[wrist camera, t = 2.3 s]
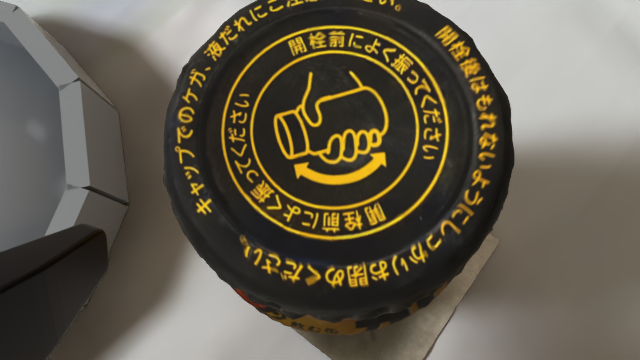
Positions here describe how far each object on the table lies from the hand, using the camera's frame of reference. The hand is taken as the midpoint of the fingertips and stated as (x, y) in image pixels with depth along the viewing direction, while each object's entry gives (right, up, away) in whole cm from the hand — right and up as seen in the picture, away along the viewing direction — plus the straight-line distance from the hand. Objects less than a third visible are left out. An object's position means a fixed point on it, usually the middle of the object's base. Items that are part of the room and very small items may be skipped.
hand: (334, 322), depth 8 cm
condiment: (+1, 0, +10) cm, 10 cm away
